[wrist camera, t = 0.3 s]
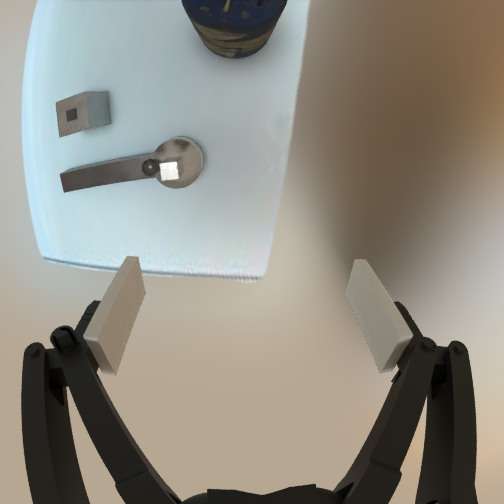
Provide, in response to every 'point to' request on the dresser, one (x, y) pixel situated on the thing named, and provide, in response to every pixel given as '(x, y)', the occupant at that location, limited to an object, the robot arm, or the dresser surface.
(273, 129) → the dresser surface
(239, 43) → the canister
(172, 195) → the dresser surface
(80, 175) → the ratchet
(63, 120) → the socket
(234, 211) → the dresser surface
